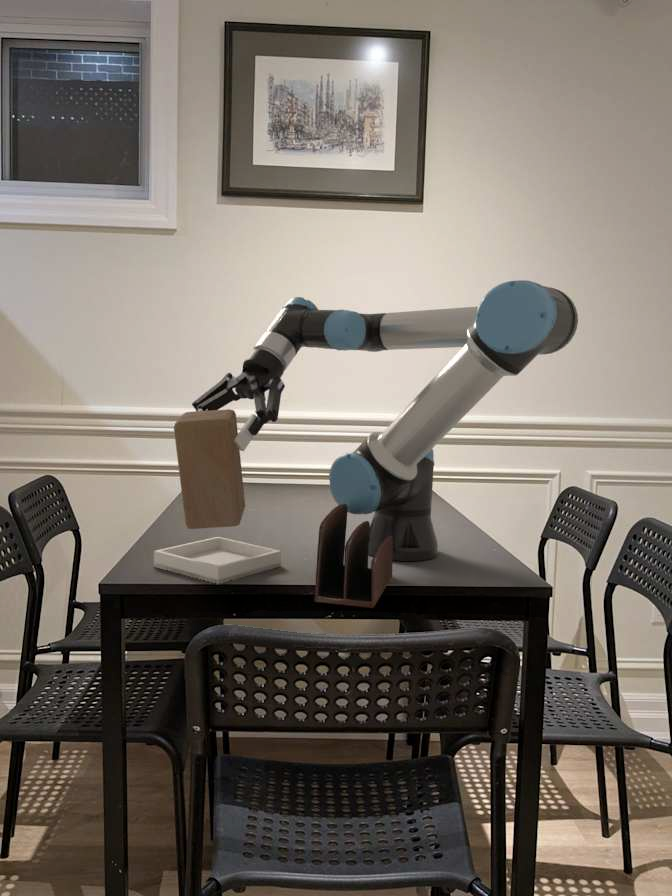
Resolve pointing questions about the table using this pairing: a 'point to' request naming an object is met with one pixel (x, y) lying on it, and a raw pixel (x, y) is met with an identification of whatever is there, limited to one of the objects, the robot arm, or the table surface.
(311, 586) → the table surface
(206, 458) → the block
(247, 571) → the tray
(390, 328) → the robot arm
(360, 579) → the letter holder
